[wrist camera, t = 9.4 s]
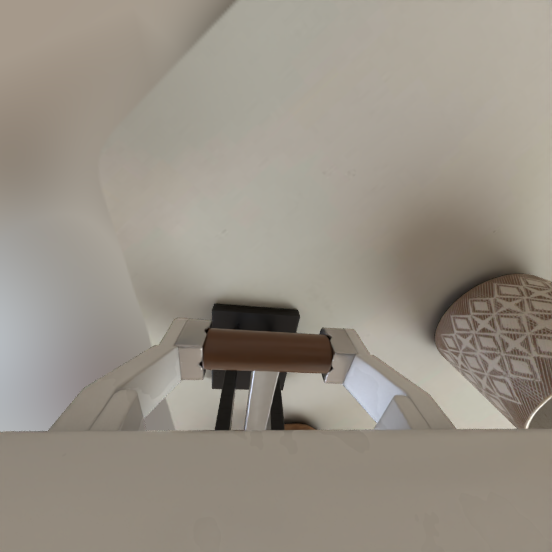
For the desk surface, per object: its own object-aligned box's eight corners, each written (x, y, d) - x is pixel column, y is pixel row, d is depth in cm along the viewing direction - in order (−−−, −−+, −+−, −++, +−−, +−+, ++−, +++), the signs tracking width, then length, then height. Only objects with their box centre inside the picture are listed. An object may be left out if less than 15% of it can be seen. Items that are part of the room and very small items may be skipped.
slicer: (214, 303, 21) (159, 455, 9) (298, 309, 22) (339, 452, 11) (213, 380, 26) (177, 539, 15) (281, 382, 27) (297, 531, 16)
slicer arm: (212, 313, 9) (197, 361, 7) (322, 320, 9) (340, 366, 7) (214, 453, 16) (207, 498, 14) (277, 452, 16) (280, 495, 14)
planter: (434, 366, 28) (520, 460, 19) (420, 299, 23) (532, 385, 13) (530, 330, 26) (680, 414, 17) (541, 248, 21) (767, 306, 12)
